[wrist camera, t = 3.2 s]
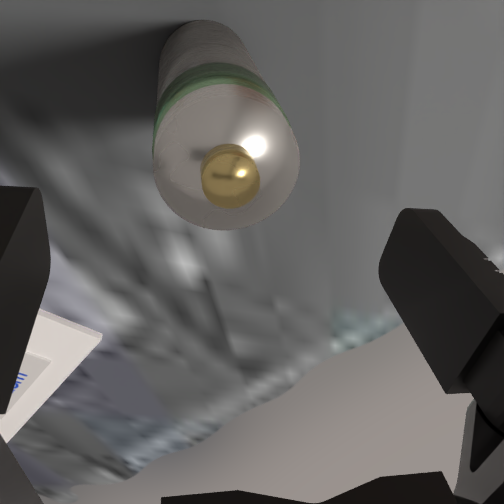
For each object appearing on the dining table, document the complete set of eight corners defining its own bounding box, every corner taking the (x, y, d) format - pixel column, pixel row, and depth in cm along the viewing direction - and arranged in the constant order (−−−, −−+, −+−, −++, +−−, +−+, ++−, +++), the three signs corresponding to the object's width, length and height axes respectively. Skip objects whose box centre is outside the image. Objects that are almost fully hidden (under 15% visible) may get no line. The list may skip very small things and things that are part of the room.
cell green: (257, 25, 20) (325, 113, 11) (244, 119, 22) (291, 248, 14) (158, 12, 19) (151, 96, 10) (157, 111, 21) (149, 244, 13)
